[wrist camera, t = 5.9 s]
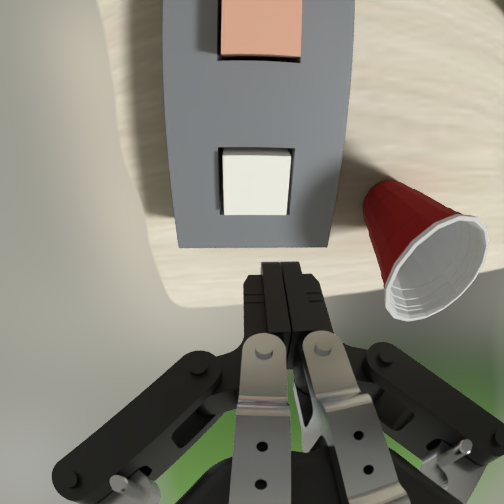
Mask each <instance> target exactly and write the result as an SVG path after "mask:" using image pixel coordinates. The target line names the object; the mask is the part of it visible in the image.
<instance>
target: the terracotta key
mask: <svg viewBox="0 0 504 504" xmlns="http://www.w3.org/2000/svg"><path fill="white" fill-rule="evenodd" d="M301 34H302V0H222V20H221V54H222V55H223V56H262V57H282V58H294V57H301Z"/></svg>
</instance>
